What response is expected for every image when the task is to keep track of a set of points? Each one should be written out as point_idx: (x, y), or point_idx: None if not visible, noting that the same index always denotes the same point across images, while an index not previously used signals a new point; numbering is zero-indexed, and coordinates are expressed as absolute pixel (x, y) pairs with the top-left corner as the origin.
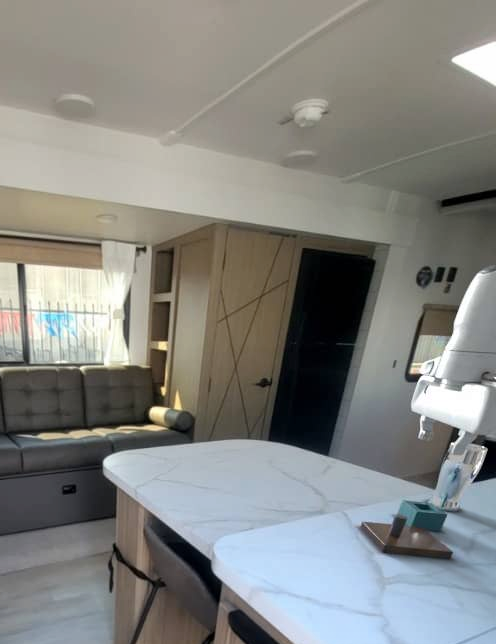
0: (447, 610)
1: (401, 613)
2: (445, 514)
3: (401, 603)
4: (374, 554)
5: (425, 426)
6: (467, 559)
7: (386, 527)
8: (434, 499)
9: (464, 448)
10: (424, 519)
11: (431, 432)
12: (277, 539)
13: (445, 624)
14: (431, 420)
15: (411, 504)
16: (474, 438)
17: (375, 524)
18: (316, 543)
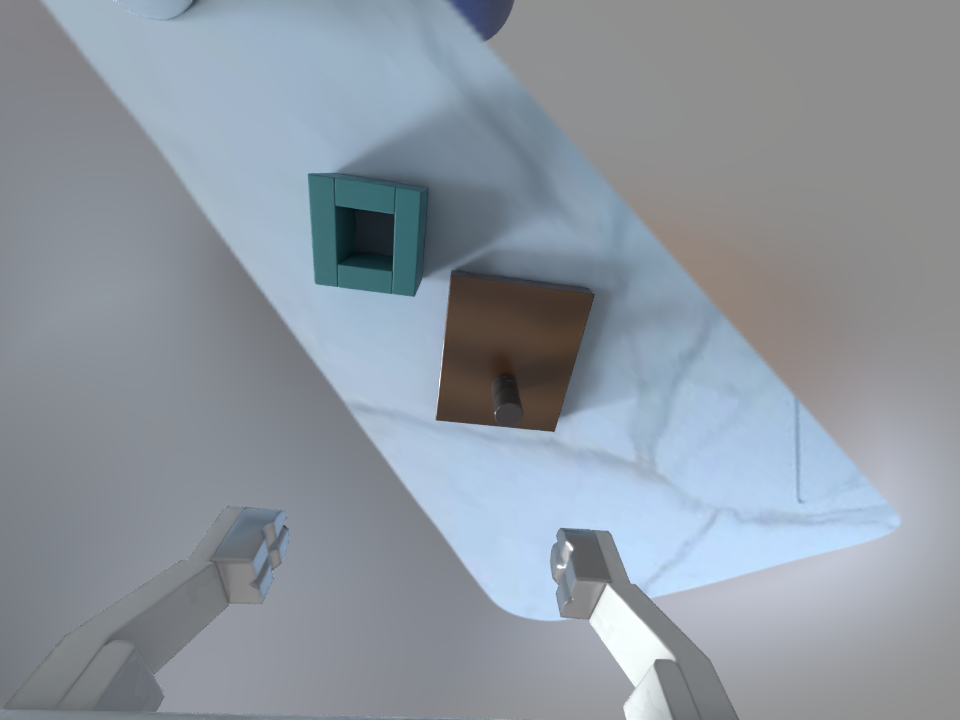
0: (737, 421)
1: (722, 485)
2: (421, 199)
3: (703, 474)
4: (559, 439)
5: (188, 626)
6: (594, 240)
7: (465, 382)
8: (136, 3)
9: (620, 570)
10: (420, 258)
11: (256, 574)
12: (503, 559)
13: (762, 445)
14: (137, 676)
15: (351, 276)
16: (699, 656)
17: (449, 398)
18: (516, 512)
